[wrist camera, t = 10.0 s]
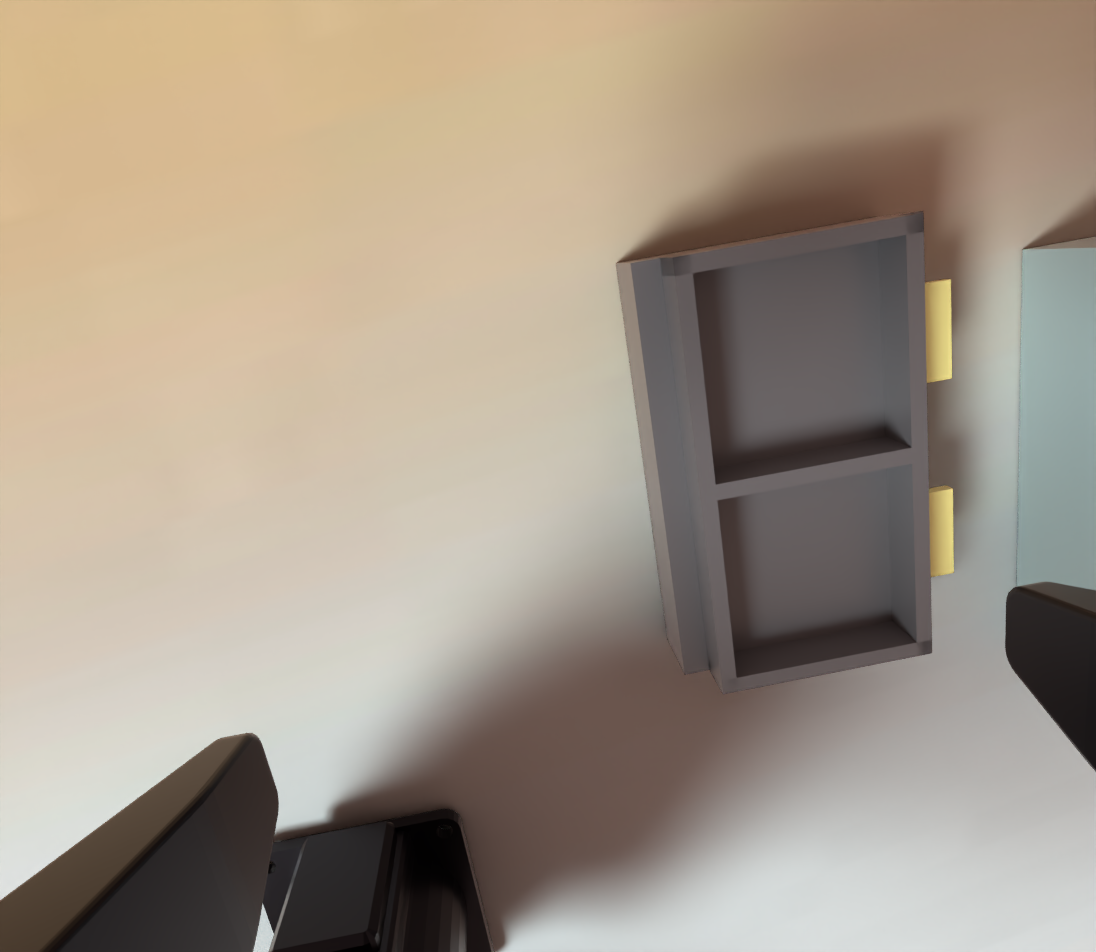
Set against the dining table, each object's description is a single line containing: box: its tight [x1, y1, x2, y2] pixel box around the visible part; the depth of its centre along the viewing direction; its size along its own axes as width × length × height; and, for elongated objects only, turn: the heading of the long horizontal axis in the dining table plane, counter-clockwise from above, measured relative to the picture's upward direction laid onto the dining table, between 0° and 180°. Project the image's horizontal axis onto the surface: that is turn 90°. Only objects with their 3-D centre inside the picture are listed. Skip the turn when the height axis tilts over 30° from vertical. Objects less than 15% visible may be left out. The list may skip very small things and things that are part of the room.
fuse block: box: [616, 211, 954, 694], centre depth 19 cm, size 11×8×3 cm
